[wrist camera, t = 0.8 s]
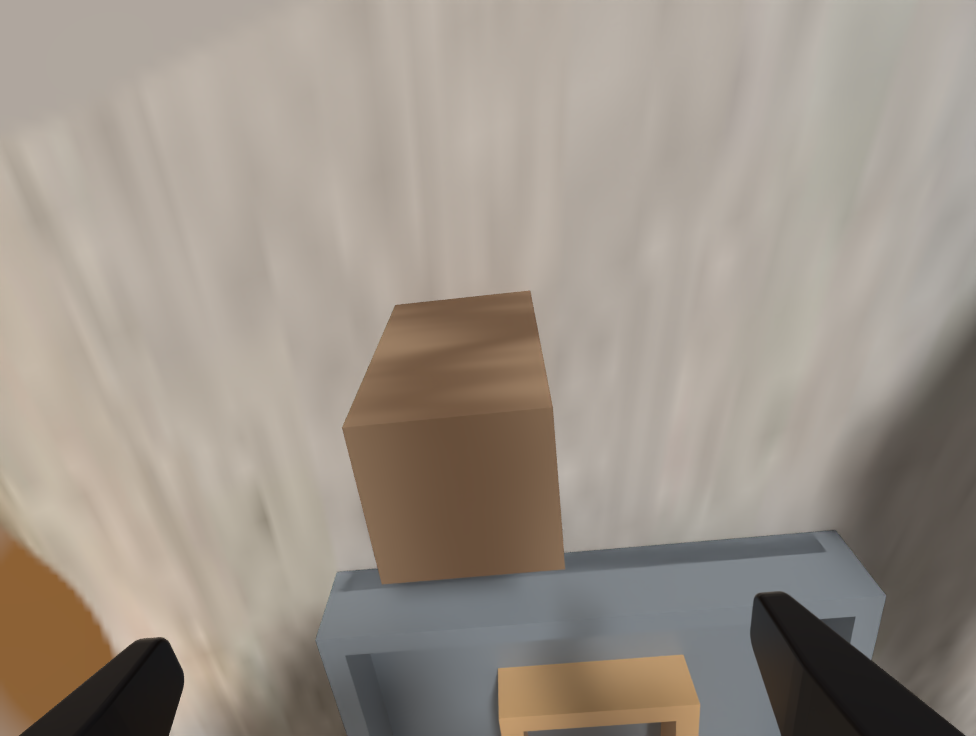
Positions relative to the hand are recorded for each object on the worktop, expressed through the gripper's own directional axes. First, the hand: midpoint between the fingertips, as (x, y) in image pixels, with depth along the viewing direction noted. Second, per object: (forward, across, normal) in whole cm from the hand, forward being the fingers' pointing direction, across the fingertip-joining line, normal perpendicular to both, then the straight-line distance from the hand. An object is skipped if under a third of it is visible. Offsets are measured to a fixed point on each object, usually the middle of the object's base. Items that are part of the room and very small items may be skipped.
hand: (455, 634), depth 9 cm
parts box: (+10, -3, +16) cm, 19 cm away
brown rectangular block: (+10, 0, 0) cm, 10 cm away
